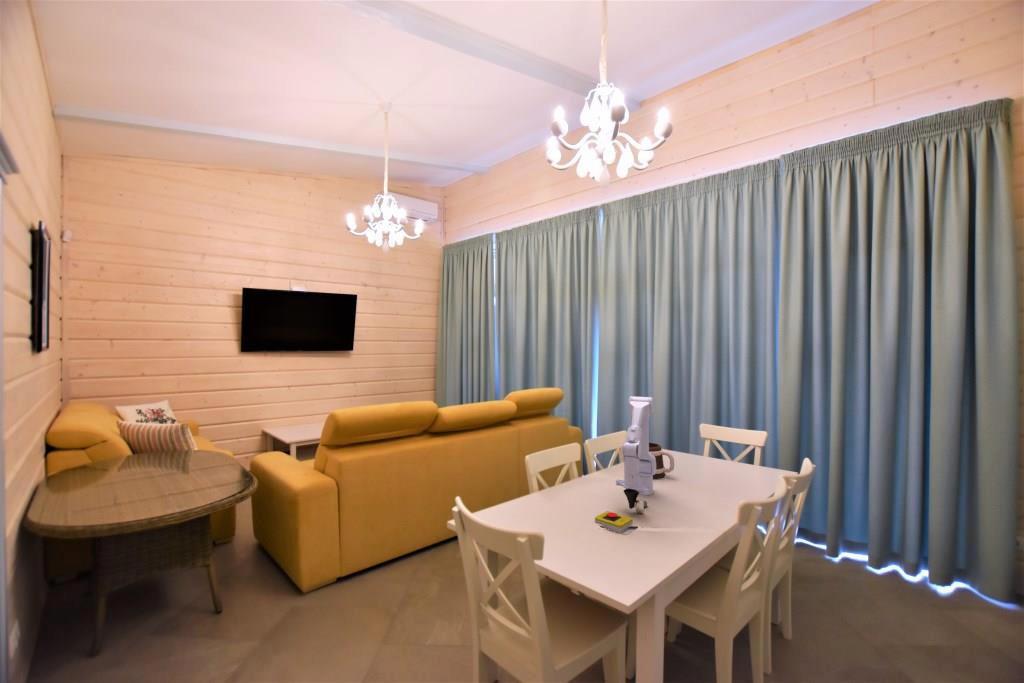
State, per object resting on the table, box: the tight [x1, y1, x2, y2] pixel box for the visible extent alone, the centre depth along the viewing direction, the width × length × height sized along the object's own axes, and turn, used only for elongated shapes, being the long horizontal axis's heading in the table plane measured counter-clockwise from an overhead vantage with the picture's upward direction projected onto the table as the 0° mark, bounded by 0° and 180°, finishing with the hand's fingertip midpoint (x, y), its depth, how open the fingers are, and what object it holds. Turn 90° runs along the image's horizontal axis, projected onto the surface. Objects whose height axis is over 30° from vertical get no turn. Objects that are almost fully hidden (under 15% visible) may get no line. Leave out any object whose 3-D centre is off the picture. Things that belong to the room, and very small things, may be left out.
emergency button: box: [594, 510, 639, 536], centre depth 170 cm, size 9×4×15 cm
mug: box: [649, 442, 675, 480], centre depth 229 cm, size 20×15×15 cm
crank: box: [635, 499, 648, 514], centre depth 182 cm, size 12×4×5 cm, turn 158°
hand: (632, 507), depth 180 cm, fingers closed
